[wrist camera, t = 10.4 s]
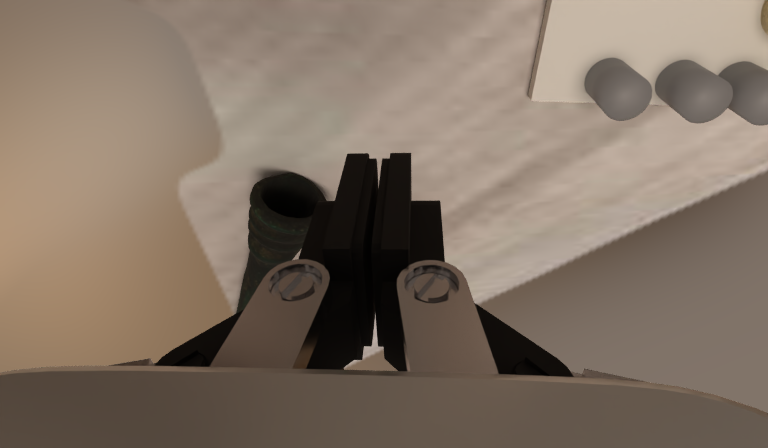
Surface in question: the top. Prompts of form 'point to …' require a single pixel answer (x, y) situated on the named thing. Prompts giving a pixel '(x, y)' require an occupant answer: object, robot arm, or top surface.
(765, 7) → the gold short round piece
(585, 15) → the board
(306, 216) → the tool
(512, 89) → the top surface
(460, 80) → the top surface
